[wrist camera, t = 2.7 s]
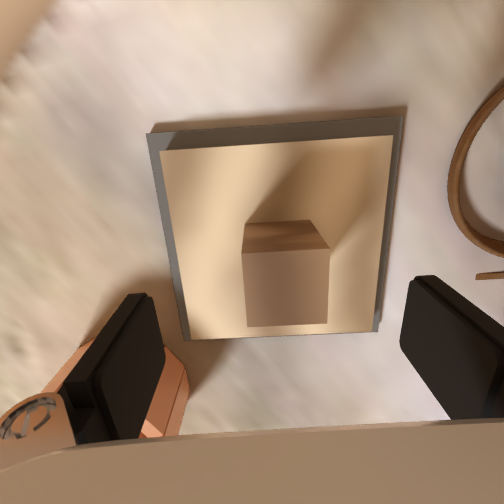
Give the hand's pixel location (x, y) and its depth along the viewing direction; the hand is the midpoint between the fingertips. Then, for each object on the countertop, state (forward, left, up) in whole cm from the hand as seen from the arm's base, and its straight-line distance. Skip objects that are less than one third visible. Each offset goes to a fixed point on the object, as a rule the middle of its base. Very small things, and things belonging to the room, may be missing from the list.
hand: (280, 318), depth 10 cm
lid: (-1, +1, -9) cm, 9 cm away
